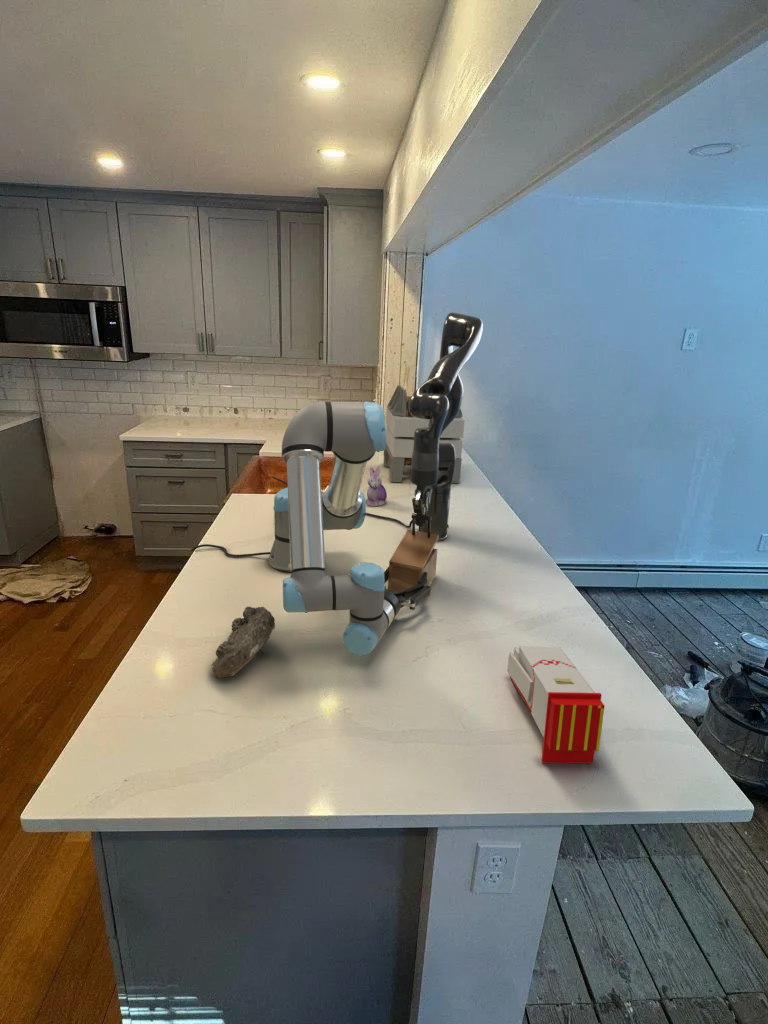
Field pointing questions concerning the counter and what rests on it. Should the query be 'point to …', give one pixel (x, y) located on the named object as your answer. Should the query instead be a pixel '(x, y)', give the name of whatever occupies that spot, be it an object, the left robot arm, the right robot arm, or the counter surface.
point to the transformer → (402, 436)
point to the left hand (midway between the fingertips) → (408, 573)
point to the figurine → (375, 489)
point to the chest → (411, 574)
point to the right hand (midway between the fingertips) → (420, 524)
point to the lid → (414, 547)
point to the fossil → (243, 641)
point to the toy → (558, 703)
